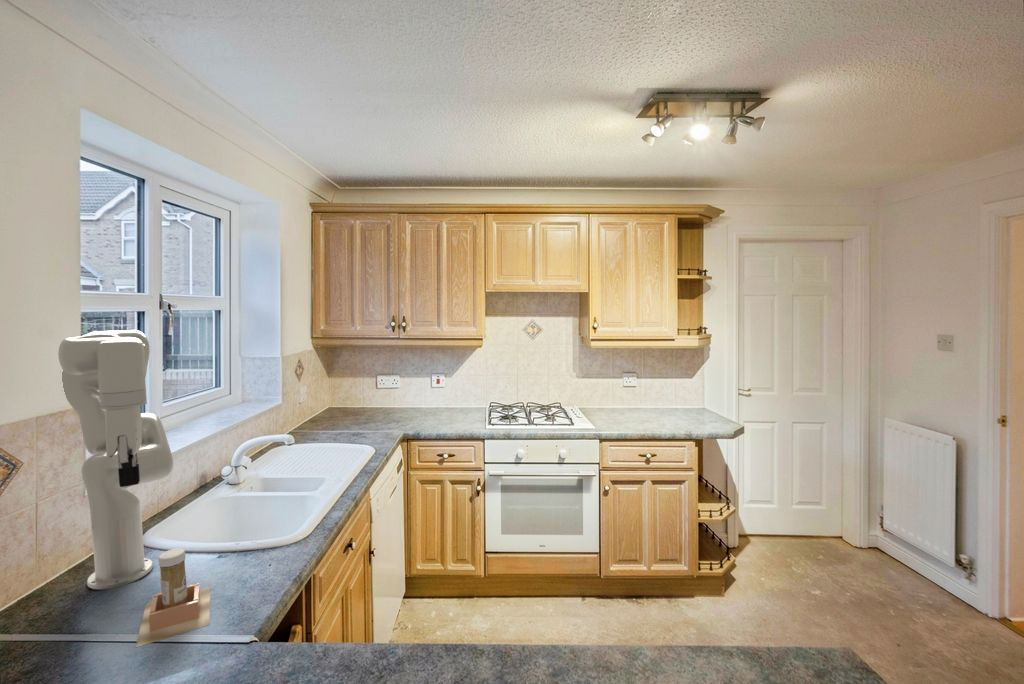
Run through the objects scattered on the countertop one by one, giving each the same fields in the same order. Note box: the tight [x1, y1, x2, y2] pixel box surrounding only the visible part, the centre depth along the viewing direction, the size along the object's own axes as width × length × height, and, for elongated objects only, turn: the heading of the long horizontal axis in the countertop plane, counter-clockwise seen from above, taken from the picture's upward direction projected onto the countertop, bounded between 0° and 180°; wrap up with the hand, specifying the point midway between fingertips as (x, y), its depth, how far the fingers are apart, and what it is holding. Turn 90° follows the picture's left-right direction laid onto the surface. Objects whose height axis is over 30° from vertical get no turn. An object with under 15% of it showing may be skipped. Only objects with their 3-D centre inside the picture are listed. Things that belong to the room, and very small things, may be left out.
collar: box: [149, 582, 201, 632], centre depth 101 cm, size 8×8×4 cm
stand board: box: [135, 586, 211, 648], centre depth 101 cm, size 16×12×1 cm
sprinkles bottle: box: [158, 548, 188, 609], centre depth 101 cm, size 5×5×13 cm
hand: (129, 484), depth 101 cm, fingers closed
